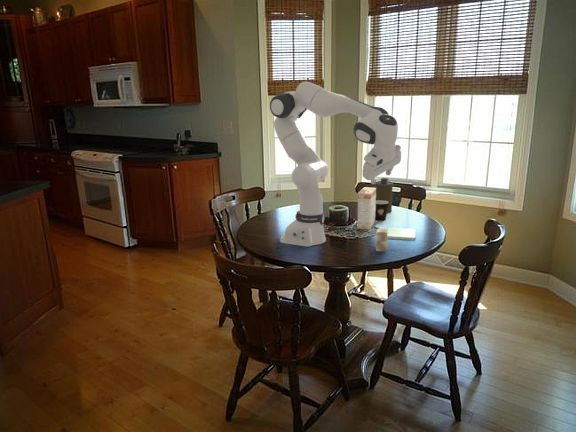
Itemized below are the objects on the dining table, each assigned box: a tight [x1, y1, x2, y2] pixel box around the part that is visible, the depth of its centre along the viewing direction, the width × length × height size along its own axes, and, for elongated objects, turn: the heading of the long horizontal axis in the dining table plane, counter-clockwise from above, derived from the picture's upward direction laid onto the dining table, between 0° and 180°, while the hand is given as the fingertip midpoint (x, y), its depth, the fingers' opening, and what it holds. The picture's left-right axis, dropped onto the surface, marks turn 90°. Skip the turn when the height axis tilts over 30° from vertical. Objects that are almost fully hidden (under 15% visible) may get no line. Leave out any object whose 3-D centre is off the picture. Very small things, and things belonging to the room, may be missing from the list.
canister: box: [373, 177, 394, 214], centre depth 253 cm, size 11×10×20 cm
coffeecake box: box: [356, 186, 376, 231], centre depth 226 cm, size 15×7×20 cm, turn 157°
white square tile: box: [386, 227, 416, 241], centre depth 212 cm, size 14×14×1 cm
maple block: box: [375, 228, 388, 252], centre depth 191 cm, size 4×4×9 cm
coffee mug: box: [375, 200, 388, 222], centre depth 238 cm, size 12×9×10 cm
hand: (380, 178), depth 185 cm, fingers open, 8 cm apart
